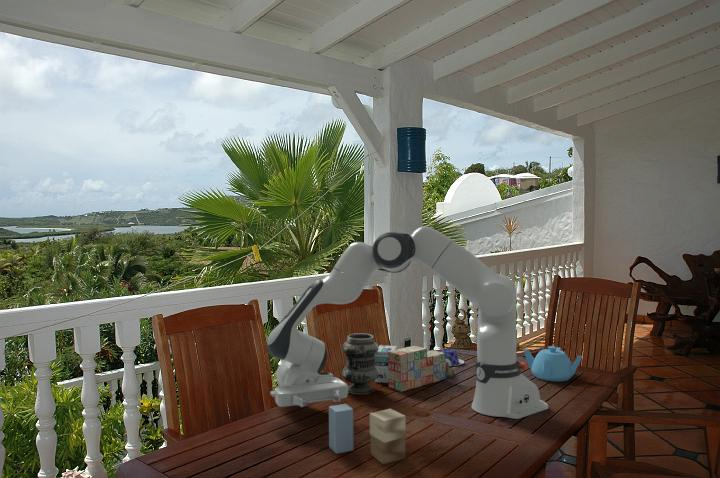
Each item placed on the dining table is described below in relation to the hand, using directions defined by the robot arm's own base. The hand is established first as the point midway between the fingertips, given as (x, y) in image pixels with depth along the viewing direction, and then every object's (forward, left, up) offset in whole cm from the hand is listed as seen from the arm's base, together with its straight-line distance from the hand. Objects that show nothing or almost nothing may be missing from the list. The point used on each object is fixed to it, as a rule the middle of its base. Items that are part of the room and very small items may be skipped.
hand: (321, 401), depth 145 cm
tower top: (-8, +21, -3) cm, 23 cm away
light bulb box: (-38, -36, -8) cm, 53 cm away
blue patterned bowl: (-70, -44, -8) cm, 84 cm away
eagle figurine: (-59, -31, -8) cm, 67 cm away
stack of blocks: (-45, -26, -8) cm, 52 cm away
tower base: (-8, +21, -8) cm, 24 cm away
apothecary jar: (-24, -28, -8) cm, 38 cm away
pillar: (0, +12, -8) cm, 15 cm away
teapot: (-91, -12, -8) cm, 92 cm away
